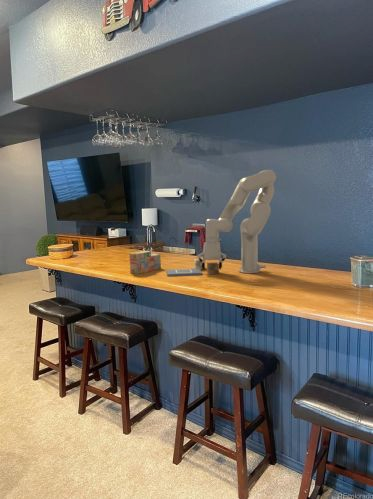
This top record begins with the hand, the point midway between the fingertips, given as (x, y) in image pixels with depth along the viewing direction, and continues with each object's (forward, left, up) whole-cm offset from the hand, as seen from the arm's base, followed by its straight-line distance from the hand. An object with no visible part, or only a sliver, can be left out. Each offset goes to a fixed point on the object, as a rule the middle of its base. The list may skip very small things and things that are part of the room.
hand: (211, 269), depth 220 cm
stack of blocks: (+39, -16, -3) cm, 42 cm away
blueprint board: (+16, -3, -2) cm, 17 cm away
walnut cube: (-1, 0, -3) cm, 2 cm away
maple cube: (+5, -15, -3) cm, 16 cm away
